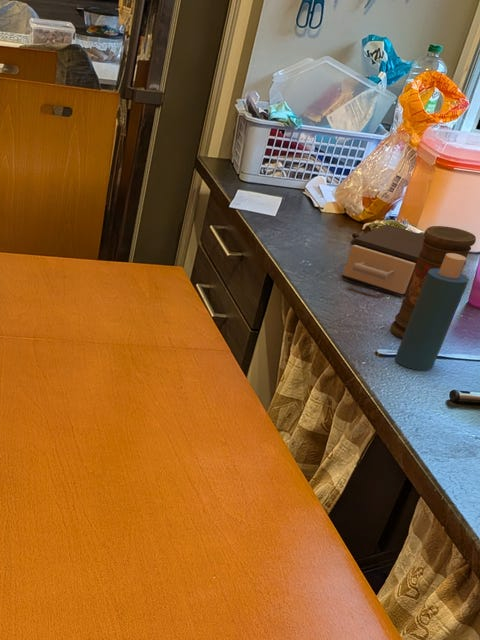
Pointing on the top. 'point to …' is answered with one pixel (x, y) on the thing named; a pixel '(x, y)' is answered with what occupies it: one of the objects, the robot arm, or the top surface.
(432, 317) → the bottle
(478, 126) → the robot arm
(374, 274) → the drawer
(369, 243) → the cabinet
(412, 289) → the container
